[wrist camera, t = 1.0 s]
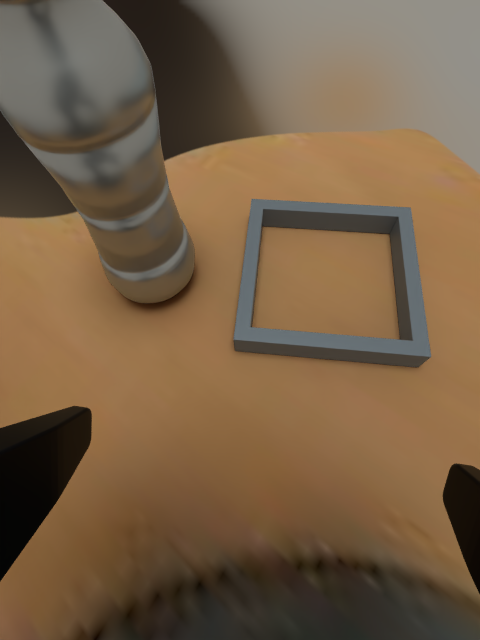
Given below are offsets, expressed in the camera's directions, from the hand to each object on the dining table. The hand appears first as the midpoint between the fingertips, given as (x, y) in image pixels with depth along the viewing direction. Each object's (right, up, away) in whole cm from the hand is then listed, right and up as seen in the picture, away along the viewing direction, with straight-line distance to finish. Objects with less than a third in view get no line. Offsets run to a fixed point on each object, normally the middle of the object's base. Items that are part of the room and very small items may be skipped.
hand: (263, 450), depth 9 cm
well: (+6, +6, +19) cm, 20 cm away
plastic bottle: (-7, +7, +20) cm, 22 cm away
